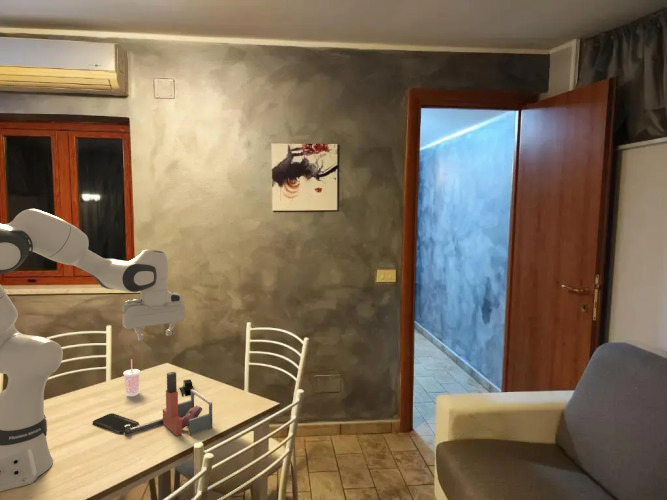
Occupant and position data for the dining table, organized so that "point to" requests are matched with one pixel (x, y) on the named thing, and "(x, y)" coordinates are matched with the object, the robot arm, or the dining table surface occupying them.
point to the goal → (198, 422)
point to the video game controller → (191, 415)
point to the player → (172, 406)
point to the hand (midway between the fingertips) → (155, 337)
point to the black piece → (186, 388)
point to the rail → (141, 427)
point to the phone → (114, 423)
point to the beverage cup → (132, 381)
